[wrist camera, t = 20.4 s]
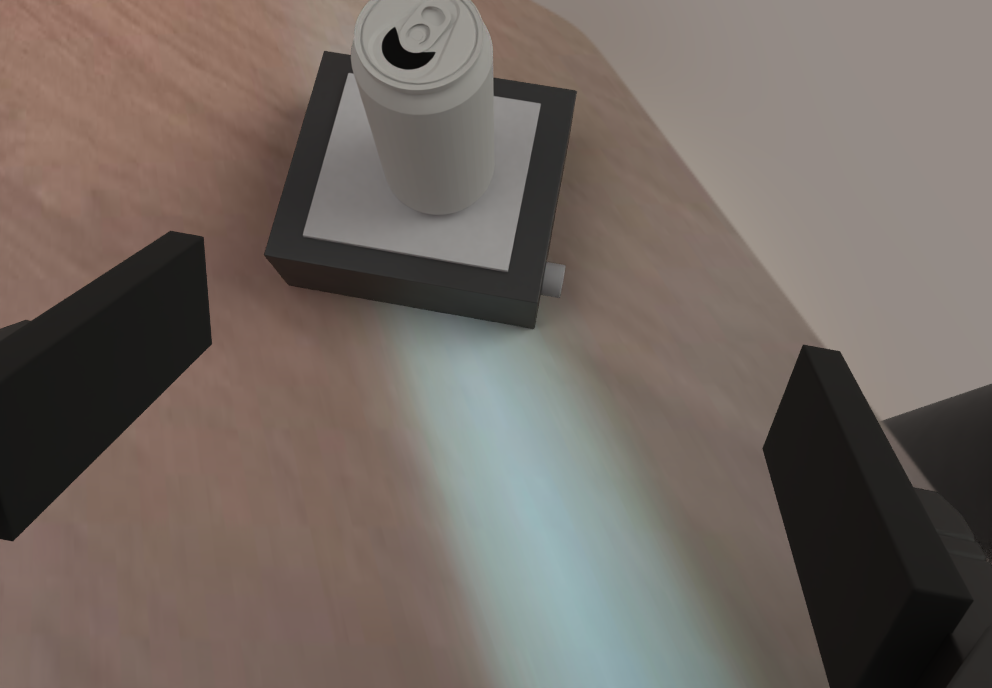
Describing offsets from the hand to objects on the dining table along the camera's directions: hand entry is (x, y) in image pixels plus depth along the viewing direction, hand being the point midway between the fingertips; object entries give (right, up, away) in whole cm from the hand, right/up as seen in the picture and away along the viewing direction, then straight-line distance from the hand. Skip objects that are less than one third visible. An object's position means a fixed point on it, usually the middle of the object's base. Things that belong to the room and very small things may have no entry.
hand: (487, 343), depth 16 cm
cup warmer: (-4, +9, +32) cm, 34 cm away
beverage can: (-3, +10, +27) cm, 29 cm away
